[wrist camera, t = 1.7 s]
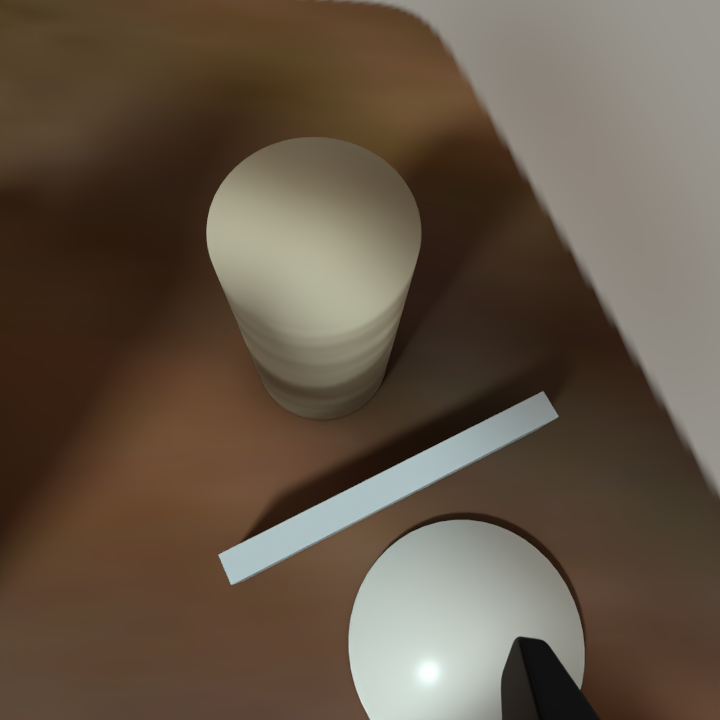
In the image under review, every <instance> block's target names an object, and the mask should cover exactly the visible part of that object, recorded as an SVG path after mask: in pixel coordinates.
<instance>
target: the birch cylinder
mask: <svg viewBox="0 0 720 720" xmlns="http://www.w3.org/2000/svg"><path fill="white" fill-rule="evenodd" d="M206 234H207V246H208V251H209V255H210V259H211V261H212V264H213V266H214V269H215V271H216V274H217V276H218V279H219V281H220V283H221V286H222V288H223V290H224V293H225V295H226V297H227V300H228V302H229V305H230V307H231V309H232V312H233V314H234V316H235V319H236V321H237V323H238V326H239V328H240V331H241V333H242V335H243V338H244V340H245V342H246V345H247V347H248V349H249V352H250V354H251V357H252V359H253V361H254V364H255V366H256V368H257V371H258V373H259V375H260V378H261V380H262V383H263V385H264V387H265V388H266V390H267V392H268V393H269V395H270V396H271V397H272V398H273V399H274V400H275V402H276V403H277V404H279V405H280V406H281V407H282V408H284V409H285V410H287V411H289V412H290V413H292V414H294V415H297V416H299V417H302V418H306V419H311V420H333V419H338V418H342V417H345V416H347V415H350V414H352V413H354V412H355V411H357V410H359V409H360V408H362V407H363V406H364V405H365V404H367V403H368V402H369V401H370V400H371V399H372V397H373V396H374V395H375V393H376V392H377V390H378V389H379V387H380V385H381V383H382V381H383V378H384V375H385V371H386V368H387V364H388V361H389V357H390V354H391V350H392V347H393V343H394V340H395V336H396V332H397V329H398V325H399V322H400V318H401V315H402V311H403V308H404V304H405V301H406V297H407V294H408V290H409V287H410V283H411V279H412V276H413V272H414V269H415V265H416V262H417V258H418V254H419V250H420V244H421V221H420V215H419V210H418V207H417V204H416V202H415V199H414V197H413V195H412V193H411V191H410V189H409V187H408V186H407V184H406V183H405V181H404V180H403V178H402V177H401V176H400V175H399V174H398V173H397V172H396V170H395V169H394V168H393V167H391V166H390V165H389V164H388V163H387V162H386V161H385V160H383V159H382V158H380V157H379V156H377V155H376V154H374V153H373V152H371V151H369V150H367V149H365V148H363V147H361V146H358V145H355V144H353V143H350V142H346V141H342V140H338V139H332V138H325V137H304V138H295V139H290V140H285V141H281V142H278V143H275V144H272V145H270V146H267V147H265V148H263V149H261V150H259V151H257V152H255V153H254V154H252V155H251V156H249V157H247V158H246V159H245V160H244V161H242V162H241V163H240V164H239V165H237V166H236V167H235V168H234V169H233V170H232V171H231V172H230V173H229V174H228V176H227V177H226V178H225V180H224V181H223V182H222V184H221V185H220V187H219V189H218V191H217V192H216V194H215V196H214V199H213V201H212V204H211V207H210V210H209V215H208V219H207V231H206Z"/></svg>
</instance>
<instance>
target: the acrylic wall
mask: <svg viewBox="0 0 720 720" xmlns="http://www.w3.org/2000/svg"><path fill="white" fill-rule="evenodd" d="M557 417H559V416H558V415H557V413H556V411H555V410H554V408H553V406H552V405H551V403H550V401H549V400H548V398H547V396H546V395H545V393H544V391H543V392H541V393H539V394H537V395H535V396H533V397H531V398H529V399H527V400H525V401H523V402H521V403H519V404H517V405H515V406H513V407H511V408H509V409H507V410H505V411H503V412H501V413H499V414H497V415H495V416H493V417H491V418H489V419H487V420H485V421H483V422H481V423H479V424H477V425H475V426H473V427H471V428H469V429H467V430H465V431H463V432H461V433H459V434H457V435H455V436H453V437H451V438H449V439H447V440H445V441H443V442H441V443H439V444H437V445H435V446H433V447H431V448H429V449H427V450H425V451H423V452H421V453H419V454H417V455H415V456H413V457H411V458H409V459H407V460H405V461H403V462H401V463H399V464H397V465H395V466H394V467H392V468H390V469H388V470H386V471H384V472H382V473H380V474H378V475H376V476H374V477H372V478H370V479H368V480H366V481H364V482H362V483H360V484H358V485H356V486H354V487H352V488H350V489H348V490H346V491H344V492H342V493H340V494H338V495H336V496H334V497H332V498H330V499H328V500H326V501H324V502H322V503H320V504H318V505H316V506H314V507H312V508H310V509H308V510H306V511H304V512H302V513H300V514H298V515H296V516H294V517H292V518H290V519H288V520H286V521H284V522H282V523H280V524H278V525H276V526H274V527H272V528H270V529H268V530H266V531H264V532H262V533H260V534H258V535H256V536H254V537H252V538H250V539H248V540H246V541H245V542H243V543H241V544H239V545H237V546H235V547H233V548H231V549H229V550H227V551H225V552H223V553H221V554H219V557H220V559H221V562H222V564H223V567H224V569H225V571H226V574H227V576H228V579H229V581H230V583H231V585H233V584H236V583H239V582H242V581H244V580H246V579H248V578H250V577H252V576H254V575H256V574H258V573H260V572H262V571H264V570H266V569H268V568H270V567H272V566H274V565H276V564H277V563H279V562H281V561H283V560H285V559H287V558H289V557H291V556H293V555H295V554H297V553H299V552H301V551H303V550H305V549H307V548H309V547H310V546H312V545H314V544H316V543H318V542H320V541H322V540H324V539H326V538H328V537H330V536H332V535H334V534H336V533H338V532H340V531H342V530H343V529H345V528H347V527H349V526H351V525H353V524H355V523H357V522H359V521H361V520H363V519H365V518H367V517H369V516H371V515H373V514H375V513H377V512H378V511H380V510H382V509H384V508H386V507H388V506H390V505H392V504H394V503H396V502H398V501H400V500H402V499H404V498H406V497H408V496H410V495H411V494H413V493H415V492H417V491H419V490H421V489H423V488H425V487H427V486H429V485H431V484H433V483H435V482H437V481H439V480H441V479H443V478H445V477H446V476H448V475H450V474H452V473H454V472H456V471H458V470H460V469H462V468H464V467H466V466H468V465H470V464H472V463H474V462H476V461H478V460H479V459H481V458H483V457H485V456H487V455H489V454H491V453H493V452H495V451H497V450H499V449H501V448H503V447H505V446H507V445H509V444H511V443H513V442H514V441H516V440H518V439H520V438H522V437H524V436H526V435H528V434H530V433H532V432H534V431H536V430H537V429H539V428H541V427H542V426H544V425H546V424H547V423H549V422H551V421H552V420H554V419H556V418H557Z"/></svg>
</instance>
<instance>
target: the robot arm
mask: <svg viewBox="0 0 720 720" xmlns="http://www.w3.org/2000/svg"><path fill="white" fill-rule="evenodd" d="M501 711H502V720H600V718H599V717H598V715H597V714H596V712H595V711H594V709H593V708H592V706H591V705H590V704H589V702H588V701H587V699H586V698H585V696H584V695H583V693H582V692H581V691H580V689H579V688H578V686H577V685H576V683H575V682H574V680H573V679H572V678H571V676H570V675H569V673H568V672H567V670H566V669H565V667H564V666H563V665H562V663H561V662H560V660H559V659H558V657H557V656H556V654H555V653H554V652H553V650H552V649H551V647H550V646H549V645H548V643H546V642H545V641H544V640H541V639H536V638H529V637H523V636H519V637H517V638H516V639H515V640H514V642H513V644H512V647H511V650H510V652H509V655H508V658H507V661H506V664H505V666H504V669H503V672H502V677H501Z"/></svg>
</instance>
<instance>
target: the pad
mask: <svg viewBox="0 0 720 720" xmlns="http://www.w3.org/2000/svg"><path fill="white" fill-rule="evenodd" d="M519 636H523V637H529V638H536V639H541V640H544V641H545V642H546V643H548V645H549V646H550V647H551V649H552V650H553V652H554V653H555V654H556V656H557V657H558V659H559V660H560V662H561V663H562V665H563V666H564V667H565V669H566V670H567V672H568V673H569V675H570V676H571V678H572V679H573V680H574V682H575V683H576V685H577V686H578V688H579V689H581V685H582V680H583V673H584V662H585V647H584V638H583V630H582V626H581V622H580V617H579V614H578V611H577V608H576V605H575V602H574V600H573V598H572V596H571V594H570V591H569V589H568V587H567V585H566V584H565V582H564V581H563V579H562V577H561V576H560V574H559V573H558V571H557V570H556V569H555V568H554V566H553V565H552V564H551V563H550V561H549V560H548V559H547V558H546V557H545V556H544V555H543V554H542V553H541V552H540V551H539V550H538V549H536V548H535V547H534V546H533V545H531V544H530V543H529V542H527V541H526V540H525V539H523V538H521V537H520V536H518V535H516V534H514V533H513V532H511V531H508V530H506V529H504V528H501V527H499V526H496V525H492V524H489V523H485V522H480V521H472V520H450V521H443V522H437V523H434V524H430V525H427V526H424V527H421V528H419V529H417V530H415V531H412V532H410V533H409V534H407V535H405V536H404V537H402V538H400V539H399V540H398V541H396V542H395V543H394V544H393V545H391V546H390V547H389V548H388V549H387V550H386V551H385V552H384V553H383V554H382V555H381V556H380V557H379V558H378V559H377V560H376V562H375V563H374V565H373V566H372V567H371V569H370V570H369V572H368V573H367V575H366V577H365V579H364V581H363V582H362V584H361V586H360V589H359V591H358V594H357V597H356V599H355V602H354V606H353V610H352V614H351V619H350V627H349V658H350V666H351V671H352V676H353V680H354V684H355V687H356V690H357V693H358V695H359V698H360V701H361V703H362V705H363V707H364V709H365V711H366V713H367V714H368V716H369V718H370V720H502V711H501V677H502V672H503V669H504V666H505V664H506V661H507V658H508V655H509V652H510V650H511V647H512V644H513V642H514V640H515V639H516V638H517V637H519Z"/></svg>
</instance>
